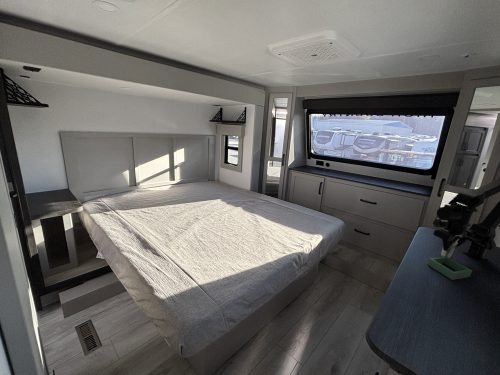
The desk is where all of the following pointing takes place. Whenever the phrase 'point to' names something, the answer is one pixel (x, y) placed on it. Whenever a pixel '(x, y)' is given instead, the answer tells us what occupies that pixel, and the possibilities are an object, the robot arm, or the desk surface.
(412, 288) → the desk surface
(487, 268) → the desk surface
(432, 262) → the green square frame
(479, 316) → the desk surface
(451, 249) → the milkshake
